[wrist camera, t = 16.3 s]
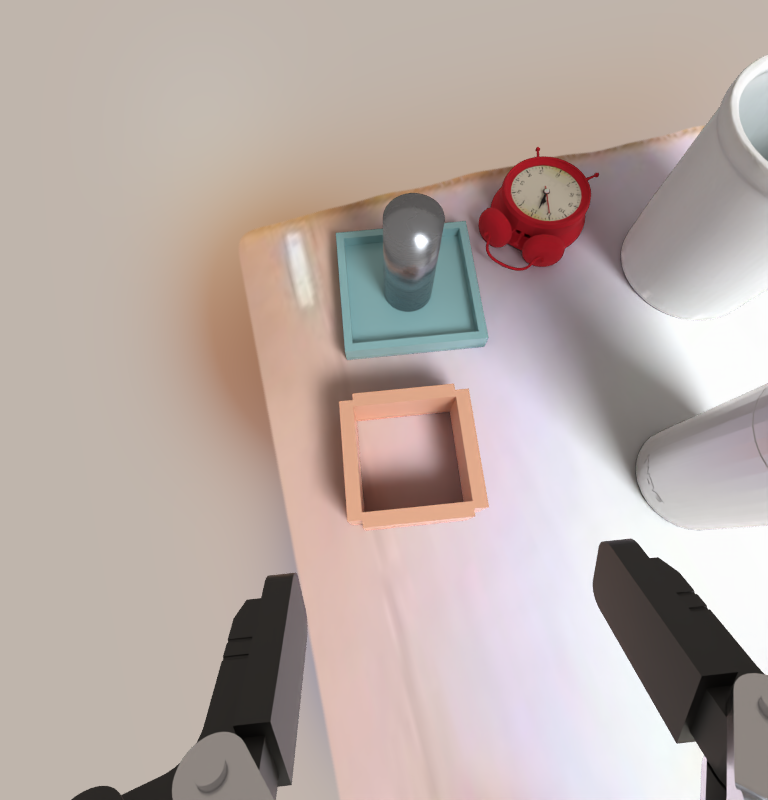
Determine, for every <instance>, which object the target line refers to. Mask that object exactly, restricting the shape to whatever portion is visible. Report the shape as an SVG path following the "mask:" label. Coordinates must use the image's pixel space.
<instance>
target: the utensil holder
mask: <svg viewBox="0 0 768 800" xmlns="http://www.w3.org/2000/svg"><path fill="white" fill-rule="evenodd" d="M621 261H622V267H623V270H624V273H625V276H626V278H627V280H628V282H629V283H630V285H631V286H632V287H633V289H634V290H635V291H636V292H637V293H638V295H640V296H641V297H642V298H643V299H644V300H645V301H646V302H647V303H648V304H650V305H651V306H653V307H654V308H656V309H658V310H660V311H662V312H664V313H666V314H668V315H671V316H673V317H677V318H680V319H686V320H695V321H698V320H711V319H716V318H719V317H722V316H724V315H727V314H729V313H731V312H732V311H734V310H736V309H738V308H739V307H741V306H742V305H744V304H745V303H747V302H749V301H750V300H752V299H754V298H755V297H757V296H758V295H760V294H762V293H763V292H765V291H767V290H768V55H765V56H763V57H761V58H759V59H758V60H756V61H754V62H753V63H752V64H750V65H749V66H748V67H747V68H745V69H744V70H743V71H742V72H741V74H740V75H739V76H738V77H737V78H736V80H735V81H734V82H733V83H732V85H731V86H730V88H729V89H728V91H727V92H726V94H725V96H724V98H723V100H722V102H721V105H720V107H719V108H718V110H717V111H716V112H715V114H714V115H713V116H712V118H711V119H710V120H709V122H708V123H707V124H706V126H705V127H704V128H703V129H702V131H701V132H700V134H699V135H698V136H697V138H696V139H695V140H694V142H693V143H692V145H691V146H690V147H689V149H688V150H687V151H686V153H685V154H684V156H683V157H682V158H681V160H680V161H679V163H678V164H677V165H676V167H675V168H674V169H673V171H672V172H671V173H670V175H669V176H668V177H667V179H666V180H665V181H664V183H663V184H662V185H661V187H660V188H659V189H658V191H657V192H656V193H655V195H654V196H653V197H652V199H651V200H650V202H649V203H648V204H647V206H646V207H645V209H644V210H643V212H642V213H641V215H640V216H639V218H638V219H637V220H636V222H635V223H634V225H633V226H632V228H631V229H630V231H629V232H628V234H627V235H626V238H625V240H624V242H623V245H622V250H621Z"/></svg>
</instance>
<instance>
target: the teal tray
mask: <svg viewBox="0 0 768 800" xmlns="http://www.w3.org/2000/svg"><path fill="white" fill-rule="evenodd" d="M336 242H337V255H338V268H339V281H340V294H341V306H342V319H343V332H344V345H345V354H346V358H347V360H353V359H363V358H373V357H383V356H394V355H404V354H414V353H424V352H435V351H445V350H455V349H466V348H476V347H484V346H485V344H486V342H487V340H488V333H487V328H486V323H485V318H484V313H483V307H482V302H481V297H480V292H479V287H478V282H477V277H476V271H475V266H474V261H473V256H472V251H471V246H470V241H469V235H468V230H467V225H466V221H460V222H449V223H444V228H443V233H442V239H441V244H440V250H439V255H438V261H437V266H436V272H435V277H434V283H433V288H432V293H431V297H430V300H429V301H428V303H427V304H426V305H425V306H424V307H422V308H421V309H419V310H416V311H412V312H404V311H400V310H397V309H395V308H393V307H392V306H391V305H390V304H389V303H388V302H387V300H386V298H385V296H384V269H383V229H373V230H362V231H352V232H341V233H336Z"/></svg>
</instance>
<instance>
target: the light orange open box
mask: <svg viewBox="0 0 768 800" xmlns="http://www.w3.org/2000/svg"><path fill="white" fill-rule="evenodd" d="M352 398H353V400H348V401H339V409H340V423H341V437H342V452H343V466H344V480H345V495H346V509H347V522H348V523H350V524H351V525H358V524H363V528H364V529H365V530H366V531H368V530H378V529H387V528H397V527H407V526H416V525H426V524H435V523H445V522H455V521H464V520H468V519H470V518H473V517H475V512H480V511H482V510H484V509H486V508H488V507H489V505H488V499H487V493H486V487H485V481H484V476H483V470H482V464H481V458H480V452H479V446H478V441H477V435H476V429H475V423H474V417H473V411H472V406H471V400H470V394H469V389H460V390H455V387H454V384H445V385H435V386H424V387H414V388H404V389H394V390H384V391H374V392H364V393H353V394H352ZM443 412H450V417H451V423H452V430H453V436H454V443H455V449H456V456H457V462H458V469H459V475H460V482H461V488H462V495H463V501H464V502H459V503H449V504H439V505H430V506H420V507H410V508H401V509H391V510H381V511H371V512H364V500H363V488H362V476H361V464H360V451H359V439H358V427H357V421H363V420H373V419H383V418H393V417H403V416H413V415H423V414H433V413H443Z"/></svg>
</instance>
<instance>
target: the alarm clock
mask: <svg viewBox="0 0 768 800" xmlns="http://www.w3.org/2000/svg"><path fill="white" fill-rule="evenodd" d="M539 150H540V148H539V147H537V148H536V151H537V157H534V158H530V159H526V160H524V161H522V162H520V163H518V164H517V165H516V166H514V167H513V168H512V169H511V170H510V172H509V173H508V174H507V176H506V177H505V179H504V181H503V185H502V187H501V188H500V189H499V190H498V191H497V193H496V194H495V196H494V198H493V201H492V204H491V208H487V209H486V210H485V211H484V212H483V213H482V214H481V216H480V219H479V230H480V233H481V235H482V237H483V239H484V240H485V241H486V242H487V244H486V251H487V254H488V256H489V257H490V258H491V259H492V260H494V261H495V262H496V263H498V264H500V265H502V266H504V267H506V268H509V269H512V270H525V269H527V268H529V267H530V266H531V265H534V266H539V267H546V266H550V265H553V264H555V263H557V262H558V261H559V260H560V259H561V257H562V256H563V253H564V249H565V248H566V247H568V246H569V245H571V244H572V243H573V242H574V241H575V240H576V239H577V238H578V236H579V235H580V233H581V231H582V229H583V226H584V223H585V213H586V212H587V210H588V208H589V205H590V199H591V189H590V185H589V183H588V180H589V179H591V178H593V177H598V176H599V173H595V174H594V175H593V176H591V177H588V178H586V177H585V176H584V174H583V173H582V172H581V171H580V170H579V169H578V168H576V167H575V166H574V165H572V164H570V163H568V162H566V161H564V160H561V159H558V158H553V157H539ZM507 243H508V244H510V245H511V246H513V247H515V248H517V249H519V250H522V255H523V258H524V260H525V261H526V262H527V263H529V265H528V266H526V267H524V268H515V267H511V266H508V265H506V264H503V263H502V262H500V261H498V260H496V259H495V258H494V257H493V256H492V255H491V254H490V252H489V247H488V246H489V244H490V245H491V246H493V247H503V246H505V245H506V244H507Z"/></svg>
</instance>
